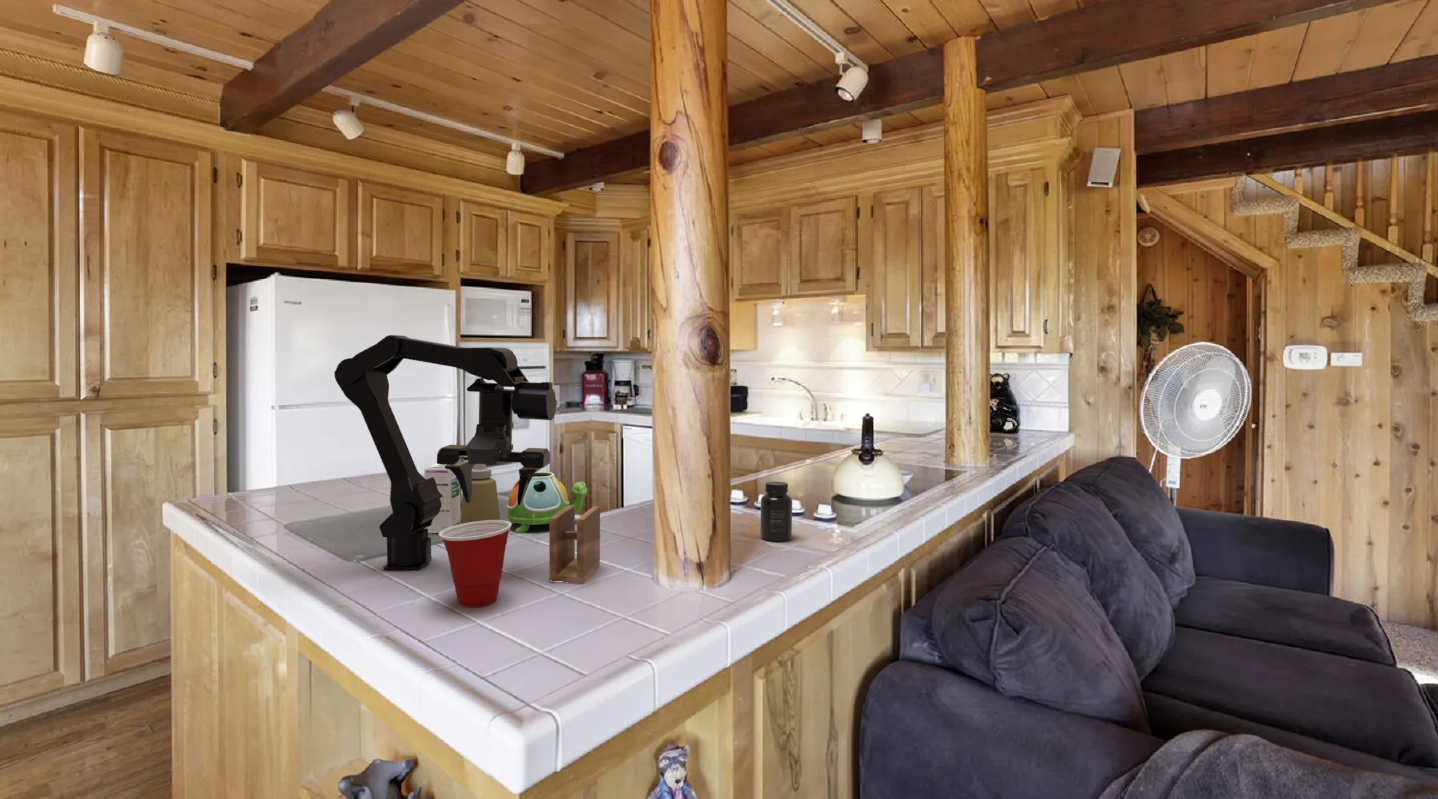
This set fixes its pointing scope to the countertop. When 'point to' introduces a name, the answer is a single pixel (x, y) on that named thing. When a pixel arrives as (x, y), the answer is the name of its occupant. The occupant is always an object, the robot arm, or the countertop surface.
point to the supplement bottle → (776, 513)
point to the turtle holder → (542, 500)
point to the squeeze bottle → (481, 497)
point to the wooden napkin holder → (563, 545)
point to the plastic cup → (476, 559)
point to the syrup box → (445, 498)
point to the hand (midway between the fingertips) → (493, 503)
